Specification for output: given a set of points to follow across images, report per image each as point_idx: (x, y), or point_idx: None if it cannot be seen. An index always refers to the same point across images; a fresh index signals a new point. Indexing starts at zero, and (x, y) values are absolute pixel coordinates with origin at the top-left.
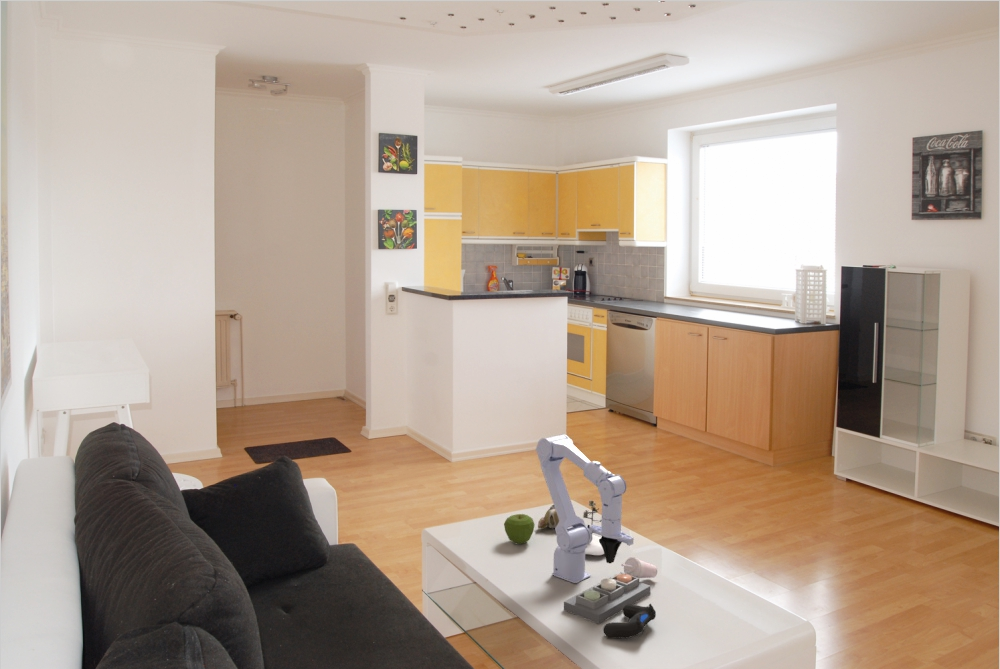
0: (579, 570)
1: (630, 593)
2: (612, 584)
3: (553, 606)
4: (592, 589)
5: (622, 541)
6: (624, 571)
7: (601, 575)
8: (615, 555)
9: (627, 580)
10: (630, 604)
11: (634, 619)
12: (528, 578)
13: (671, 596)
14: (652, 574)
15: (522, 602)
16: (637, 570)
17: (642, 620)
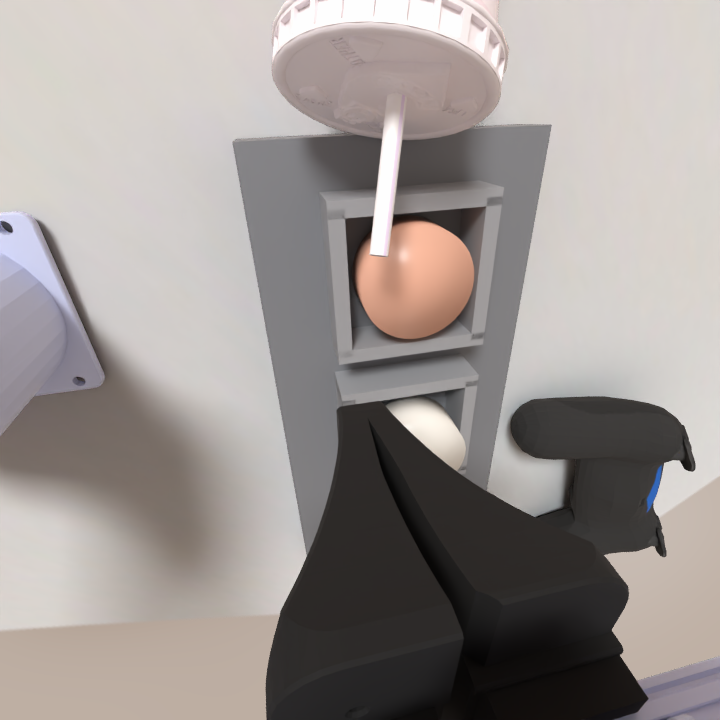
0: (39, 371)
1: (489, 327)
2: (458, 466)
3: (259, 557)
4: (309, 443)
5: (701, 689)
6: (298, 108)
7: (54, 118)
8: (410, 433)
9: (462, 306)
10: (564, 447)
11: (625, 519)
12: None
13: (644, 39)
14: None
15: (158, 614)
16: (466, 114)
17: (651, 503)
